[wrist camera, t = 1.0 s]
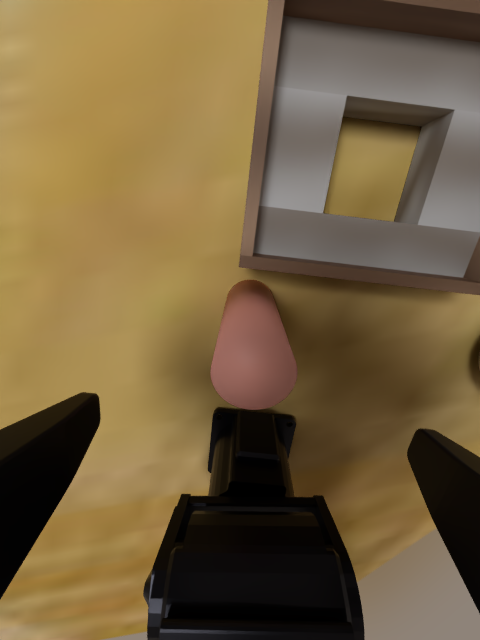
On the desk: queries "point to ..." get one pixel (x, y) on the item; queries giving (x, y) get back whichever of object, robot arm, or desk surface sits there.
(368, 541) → the desk surface
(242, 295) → the peg
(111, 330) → the desk surface
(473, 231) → the square frame
